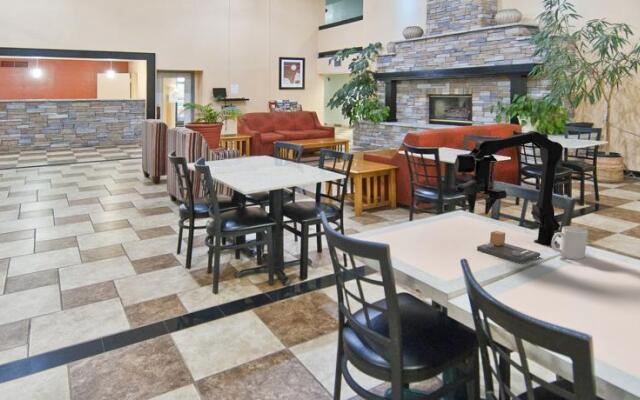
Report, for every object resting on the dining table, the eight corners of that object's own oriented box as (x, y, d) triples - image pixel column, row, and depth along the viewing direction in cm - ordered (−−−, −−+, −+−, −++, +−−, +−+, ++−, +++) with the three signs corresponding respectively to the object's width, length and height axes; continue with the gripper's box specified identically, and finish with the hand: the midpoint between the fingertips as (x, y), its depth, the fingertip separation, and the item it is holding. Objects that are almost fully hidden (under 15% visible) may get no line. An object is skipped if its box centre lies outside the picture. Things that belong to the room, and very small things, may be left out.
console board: (496, 244, 191) (496, 236, 190) (539, 257, 177) (540, 249, 176) (476, 250, 184) (477, 242, 183) (521, 263, 170) (522, 255, 169)
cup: (589, 260, 174) (593, 232, 172) (555, 260, 174) (558, 232, 171) (576, 252, 182) (580, 226, 180) (544, 252, 182) (547, 225, 180)
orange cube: (496, 241, 188) (497, 230, 187) (504, 244, 185) (505, 232, 184) (489, 243, 186) (490, 232, 185) (498, 245, 183) (499, 234, 182)
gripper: (448, 171, 189) (446, 210, 193) (491, 178, 175) (487, 221, 178) (467, 168, 196) (464, 207, 199) (509, 175, 181) (505, 216, 185)
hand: (479, 212), depth 190 cm, fingers open, 6 cm apart
